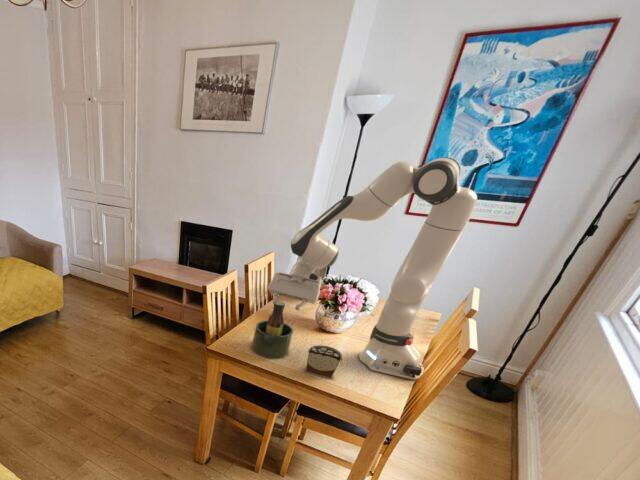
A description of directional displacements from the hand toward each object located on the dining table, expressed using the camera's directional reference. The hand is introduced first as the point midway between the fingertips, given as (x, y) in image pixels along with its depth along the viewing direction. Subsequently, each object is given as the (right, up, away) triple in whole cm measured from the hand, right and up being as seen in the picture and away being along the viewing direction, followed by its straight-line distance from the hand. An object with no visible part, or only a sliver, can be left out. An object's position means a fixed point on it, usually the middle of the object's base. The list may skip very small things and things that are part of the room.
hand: (285, 306), depth 162 cm
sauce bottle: (-5, -17, +5) cm, 18 cm away
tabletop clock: (+30, +15, +50) cm, 60 cm away
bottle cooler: (-5, -17, +5) cm, 19 cm away
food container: (+10, -27, -9) cm, 30 cm away
